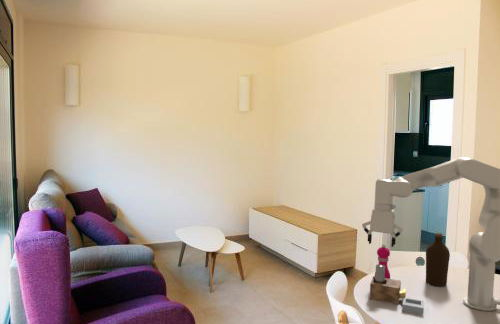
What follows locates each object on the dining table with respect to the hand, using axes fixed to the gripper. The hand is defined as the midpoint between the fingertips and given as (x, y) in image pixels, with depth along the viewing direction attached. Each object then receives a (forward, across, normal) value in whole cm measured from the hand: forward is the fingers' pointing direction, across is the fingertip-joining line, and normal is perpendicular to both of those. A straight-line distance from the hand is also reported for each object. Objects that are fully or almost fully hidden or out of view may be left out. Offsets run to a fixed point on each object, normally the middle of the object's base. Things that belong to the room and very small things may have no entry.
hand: (381, 244), depth 181 cm
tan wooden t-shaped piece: (+23, -8, 0) cm, 24 cm away
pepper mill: (+24, 0, -15) cm, 28 cm away
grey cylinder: (+24, 0, 0) cm, 24 cm away
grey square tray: (+24, -15, +7) cm, 29 cm away
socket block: (+24, -3, 0) cm, 24 cm away
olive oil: (+24, -24, -29) cm, 44 cm away
